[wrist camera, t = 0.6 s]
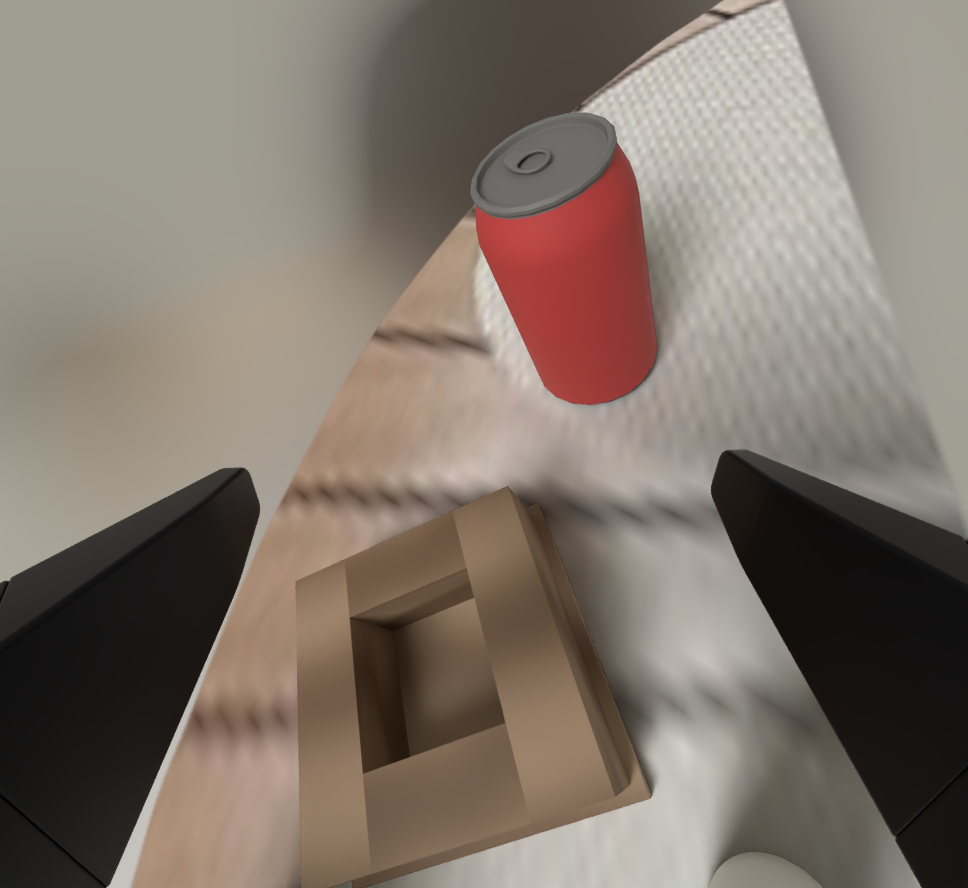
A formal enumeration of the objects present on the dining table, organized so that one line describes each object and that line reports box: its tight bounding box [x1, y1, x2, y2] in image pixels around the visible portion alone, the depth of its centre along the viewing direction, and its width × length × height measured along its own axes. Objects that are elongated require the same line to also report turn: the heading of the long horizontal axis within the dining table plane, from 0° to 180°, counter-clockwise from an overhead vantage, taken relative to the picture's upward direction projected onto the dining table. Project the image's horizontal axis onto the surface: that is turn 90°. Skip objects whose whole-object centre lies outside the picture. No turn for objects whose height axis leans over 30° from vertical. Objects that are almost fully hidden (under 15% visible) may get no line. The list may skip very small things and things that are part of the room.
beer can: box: [470, 113, 657, 405], centre depth 22 cm, size 7×7×12 cm
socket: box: [296, 486, 652, 888], centre depth 19 cm, size 12×12×4 cm
